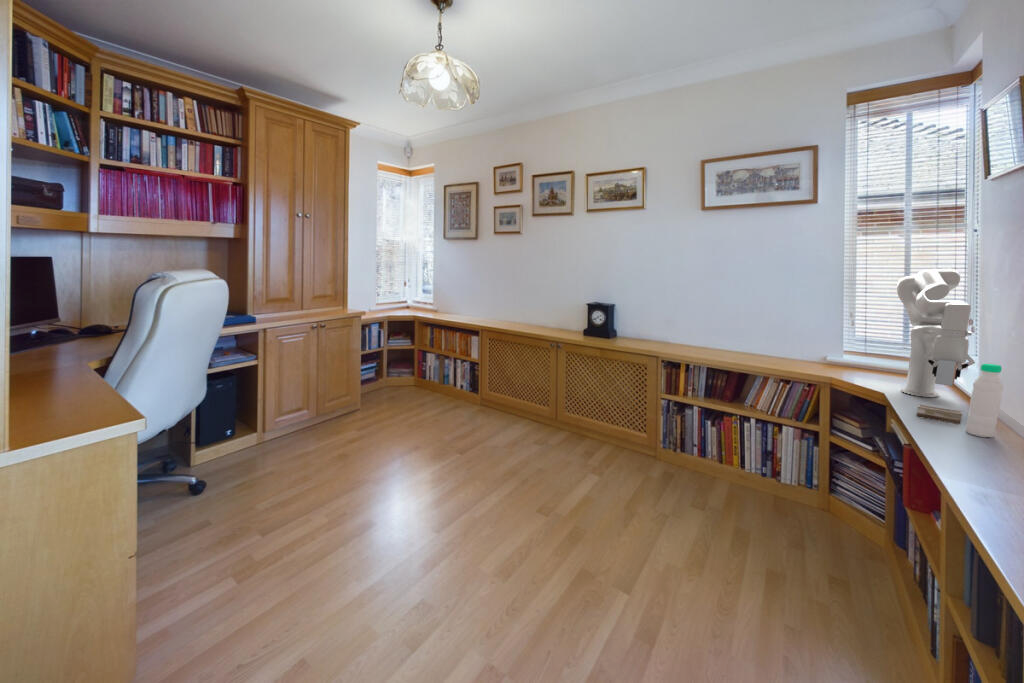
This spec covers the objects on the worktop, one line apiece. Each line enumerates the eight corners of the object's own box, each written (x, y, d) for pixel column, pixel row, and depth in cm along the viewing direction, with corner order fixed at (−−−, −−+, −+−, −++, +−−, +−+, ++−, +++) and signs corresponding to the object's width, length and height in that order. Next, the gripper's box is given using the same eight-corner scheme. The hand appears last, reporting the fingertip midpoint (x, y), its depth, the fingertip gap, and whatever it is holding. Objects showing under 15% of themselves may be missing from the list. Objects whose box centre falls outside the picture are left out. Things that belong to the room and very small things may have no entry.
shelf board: (919, 408, 181) (921, 399, 180) (961, 415, 172) (962, 405, 172) (916, 416, 171) (917, 407, 170) (959, 424, 163) (961, 414, 162)
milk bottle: (981, 438, 149) (993, 367, 145) (959, 431, 156) (970, 362, 152) (1000, 437, 150) (1013, 366, 146) (977, 430, 157) (989, 362, 153)
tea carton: (934, 383, 179) (938, 359, 177) (935, 380, 184) (939, 356, 182) (953, 386, 175) (957, 361, 173) (954, 382, 180) (958, 358, 178)
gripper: (984, 334, 172) (975, 379, 175) (924, 330, 184) (917, 372, 187) (984, 337, 167) (975, 383, 170) (922, 332, 179) (916, 375, 182)
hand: (945, 376), depth 179 cm, fingers closed on tea carton, 5 cm apart
